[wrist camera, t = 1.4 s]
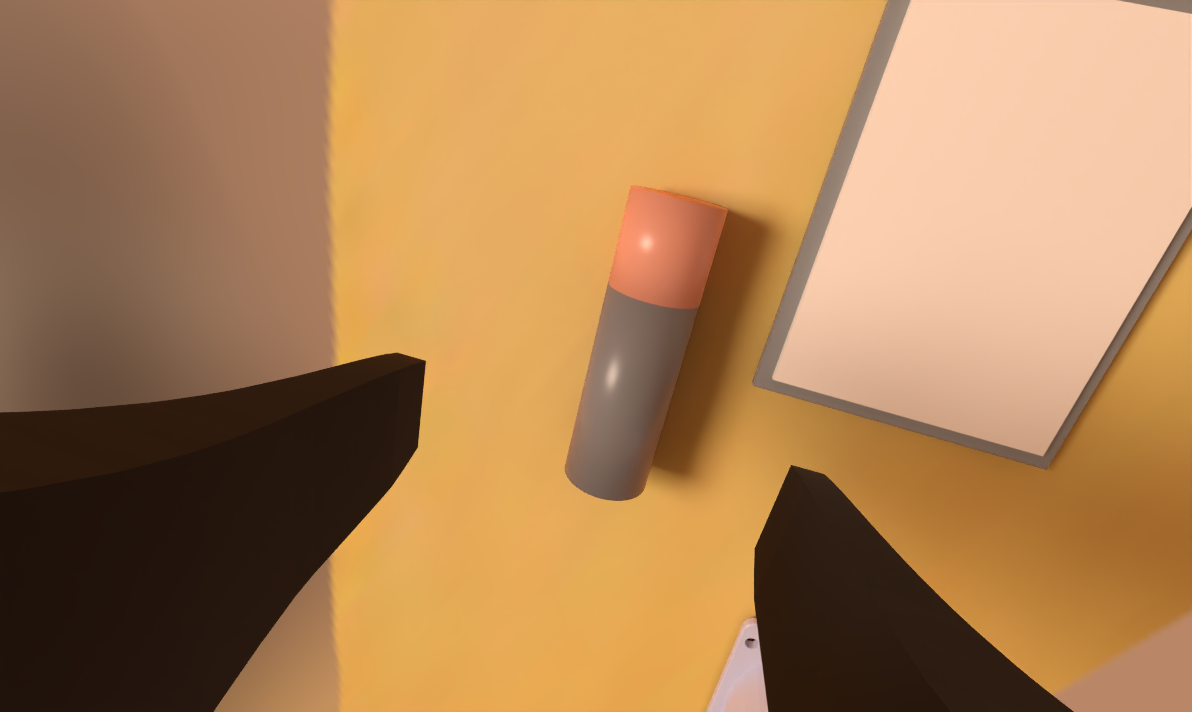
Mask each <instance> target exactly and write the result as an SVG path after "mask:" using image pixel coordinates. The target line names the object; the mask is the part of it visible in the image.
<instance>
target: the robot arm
mask: <svg viewBox="0 0 1192 712" xmlns="http://www.w3.org/2000/svg"><path fill="white" fill-rule="evenodd" d="M425 364H426V361H424V360H421V359H417V358H414V357H410V356H407V355H403V354H400V353H391V354H385V355H380V356H375V357H371V358H366V359H362V360H358V361H354V362H350V363H346V364H343V365H339V366H335V367H331V368H327V369H323V370H319V371H315V372H311V373H307V374H303V375H300V376H295V377H291V378H286V379H282V380H277V381H273V382H268V383H263V384H259V385H254V386H250V387H245V388H241V389H236V390H231V391H225V392H219V393H213V394H208V395H201V396H195V397H188V398H181V399H174V400H167V401H159V402H151V403H141V404H129V405H118V406H107V407H96V408H84V409H72V410H54V411H33V412H7V413H6V412H2V413H0V712H214V710H215V709H216V707H217V706H218V704H219V703H220V701H221V700H222V698H223V697H224V695H225V694H226V693H227V691H228V690H229V688H230V687H231V685H232V684H233V682H234V681H235V680H236V678H237V677H238V675H239V674H240V672H241V671H242V670H243V668H244V667H245V665H246V664H247V662H248V661H249V659H250V658H251V657H252V655H253V654H254V652H255V651H256V649H257V648H258V646H259V645H260V643H261V642H262V641H263V640H264V638H265V637H266V636H267V634H268V633H269V631H270V630H271V629H272V627H273V626H274V625H275V623H276V622H277V621H278V619H279V618H280V616H281V615H282V614H283V612H284V611H285V609H286V608H287V607H288V606H289V604H290V603H291V602H292V600H293V599H294V597H295V596H296V595H297V594H298V592H299V591H300V590H301V589H302V588H303V586H304V585H305V584H306V583H307V582H308V580H309V579H310V578H311V577H312V575H313V574H314V573H315V572H316V571H317V570H318V569H319V568H320V567H321V565H322V564H323V563H324V562H325V561H326V560H327V559H328V558H329V557H330V555H331V554H332V553H333V552H334V551H335V550H336V549H337V548H338V547H339V545H340V544H341V543H342V542H343V541H344V540H345V539H346V538H347V537H348V535H349V534H350V533H351V532H352V531H353V530H354V529H355V528H356V527H357V525H358V524H359V523H360V522H361V521H362V520H363V519H364V518H365V516H366V515H367V514H368V513H369V512H370V511H371V510H372V509H373V507H374V506H375V505H376V504H377V503H378V502H379V501H380V500H381V498H382V497H383V496H384V495H385V494H386V493H387V491H388V490H389V489H390V488H391V487H392V485H393V484H394V482H395V481H396V480H397V478H398V477H399V475H400V474H401V472H402V471H403V469H404V468H405V466H406V465H407V463H408V462H409V460H410V459H411V457H412V455H413V454H414V452H415V451H416V449H417V448H418V438H419V428H420V417H421V407H422V396H423V385H424V375H425ZM754 602H755V611H756V618H749V619H747V620H745V621H744V623H743V624H742V627H741V629H740V631H739V634H738V636H737V639H736V641H735V643H734V646H733V648H732V650H731V653H730V655H729V658H728V660H727V662H726V665H725V667H724V669H723V672H722V674H721V676H720V679H719V681H718V684H717V686H716V688H715V691H714V693H713V695H712V698H711V700H710V703H709V705H708V707H707V710H706V712H1073V711H1072V710H1071V709H1069V708H1068V707H1067V706H1065V705H1064V704H1063V703H1062V702H1060V701H1059V700H1058V699H1057V698H1055V697H1054V696H1053V695H1051V694H1050V693H1049V692H1048V691H1046V690H1045V689H1044V688H1042V687H1041V686H1040V685H1039V684H1038V683H1036V682H1035V681H1034V680H1033V679H1031V678H1030V677H1029V676H1028V675H1027V674H1025V673H1024V672H1023V671H1022V670H1021V669H1019V668H1018V667H1017V666H1016V665H1015V664H1013V663H1012V662H1011V661H1010V660H1009V659H1008V658H1006V657H1005V656H1004V655H1003V654H1002V653H1001V652H1000V651H998V650H997V649H996V648H995V647H994V646H993V645H992V644H991V643H989V642H988V641H987V640H986V639H985V638H984V637H983V636H981V635H980V634H979V633H978V632H977V631H976V630H975V629H973V628H972V627H971V626H970V625H969V624H968V623H967V622H966V621H965V620H964V619H963V618H961V617H960V616H959V615H958V614H957V613H956V612H955V611H954V610H953V609H952V608H951V607H950V606H949V605H948V604H947V603H946V602H945V601H944V600H943V599H942V598H941V597H940V596H939V595H938V594H937V593H936V592H935V591H934V590H933V589H932V588H931V587H930V586H929V585H928V584H927V583H926V582H925V581H924V580H923V579H922V578H921V577H920V576H919V575H918V574H917V573H916V572H915V571H914V570H913V569H912V568H911V567H910V566H909V565H908V564H907V563H906V562H905V561H904V560H903V559H902V558H901V556H900V555H899V554H898V553H897V552H896V551H895V550H894V549H893V548H892V547H891V546H890V545H889V544H888V542H887V541H886V540H885V539H884V538H883V537H882V536H881V535H880V534H879V533H878V531H877V530H876V529H875V528H874V527H873V526H872V525H871V524H870V523H869V521H868V520H867V519H866V518H865V517H864V516H863V515H862V514H861V512H860V511H859V510H858V509H857V508H856V507H855V506H854V505H853V503H852V502H851V501H850V500H849V499H848V498H847V497H846V496H845V495H844V494H843V492H842V491H841V490H840V489H839V488H838V487H837V486H836V485H835V484H834V483H833V482H832V481H831V480H830V479H829V478H828V477H827V476H826V475H824V474H821V473H818V472H814V471H811V470H807V469H804V468H800V467H797V466H793V465H791V467H790V469H789V471H788V474H787V476H786V478H785V480H784V483H783V485H782V487H781V490H780V492H779V494H778V496H777V499H776V501H775V503H774V506H773V508H772V510H771V512H770V515H769V517H768V519H767V522H766V524H765V526H764V528H763V531H762V533H761V535H760V538H759V540H758V542H757V545H756V547H755V561H754ZM749 638H753V639H755V640H754V641H749V640H747V639H749Z"/></svg>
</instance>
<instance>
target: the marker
mask: <svg viewBox="0 0 1192 712" xmlns="http://www.w3.org/2000/svg"><path fill="white" fill-rule="evenodd" d="M727 212H728V209H726V208H724V207H721V206H718V205H715V204H712V203H709V202H705V201H702V200H698V199H694V198H691V197H687V196H683V195H679V194H674V193H670V192H666V191H661V190H656V189H651V188H646V187H640V186H631V187H630V192H629V196H628V200H627V204H626V209H625V213H624V217H623V221H622V226H621V230H620V234H619V238H618V243H617V247H616V251H615V255H614V260H613V264H612V268H611V272H610V277H609V281H608V285H607V289H606V294H605V298H604V302H603V306H602V311H601V315H600V319H599V324H598V328H597V332H596V336H595V341H594V345H593V349H592V353H591V358H590V362H589V366H588V370H587V375H586V379H585V383H584V387H583V392H582V396H581V400H580V404H579V409H578V413H577V417H576V421H575V426H574V430H573V434H572V438H571V443H570V447H569V451H568V455H567V460H566V464H565V473H566V475H567V477H568V479H569V480H570V481H571V482H572V483H573V484H574V485H575V486H576V487H577V488H579V489H580V490H582V491H583V492H585V493H587V494H589V495H592V496H594V497H598V498H601V499H605V500H613V501H623V500H629V499H633V498H635V497H637V496H639V495H640V494H641V493H642V492H643V490H644V488H645V485H646V482H647V478H648V475H649V472H650V468H651V465H652V462H653V458H654V455H655V452H656V448H657V445H658V442H659V438H660V435H661V432H662V428H663V425H664V422H665V418H666V415H667V412H668V409H669V405H670V402H671V399H672V395H673V392H674V389H675V385H676V382H677V379H678V375H679V372H680V369H681V365H682V362H683V359H684V355H685V352H686V349H687V345H688V342H689V339H690V335H691V332H692V329H693V325H694V322H695V319H696V315H697V312H698V309H699V305H700V302H701V299H702V295H703V292H704V289H705V285H706V282H707V279H708V276H709V272H710V269H711V266H712V262H713V259H714V256H715V252H716V249H717V246H718V242H719V239H720V236H721V232H722V229H723V226H724V222H725V219H726V216H727Z"/></svg>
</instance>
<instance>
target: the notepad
mask: <svg viewBox="0 0 1192 712" xmlns="http://www.w3.org/2000/svg"><path fill="white" fill-rule="evenodd" d="M1191 230H1192V0H888V1H887V4H886V7H885V10H884V13H883V15H882V18H881V21H880V24H879V27H878V29H877V32H876V35H875V38H874V41H873V44H872V46H871V49H870V52H869V55H868V58H867V60H866V63H865V66H864V69H863V72H862V75H861V77H860V80H859V83H858V86H857V89H856V91H855V94H854V97H853V100H852V103H851V106H850V108H849V111H848V114H847V117H846V120H845V122H844V125H843V128H842V131H841V134H840V136H839V139H838V142H837V145H836V148H835V151H834V153H833V156H832V159H831V162H830V165H829V167H828V170H827V173H826V176H825V179H824V182H823V184H822V187H821V190H820V193H819V196H818V198H817V201H816V204H815V207H814V210H813V213H812V215H811V218H810V221H809V224H808V227H807V229H806V232H805V235H804V238H803V241H802V243H801V246H800V249H799V252H798V255H797V258H796V260H795V263H794V266H793V269H792V272H791V274H790V277H789V280H788V283H787V286H786V289H785V291H784V294H783V297H782V300H781V303H780V305H779V308H778V311H777V314H776V317H775V320H774V322H773V325H772V328H771V331H770V334H769V336H768V339H767V342H766V345H765V348H764V350H763V353H762V356H761V359H760V362H759V365H758V367H757V370H756V373H755V376H754V379H753V381H752V382H753V386H756V387H760V388H763V389H766V390H770V391H773V392H777V393H780V394H784V395H787V396H791V397H794V398H798V399H801V400H805V401H808V402H812V403H815V404H819V405H822V406H826V407H829V408H833V409H836V410H840V411H843V412H847V413H850V414H854V415H857V416H861V417H864V418H868V419H871V420H875V421H878V422H882V423H885V424H889V425H892V426H896V427H899V428H903V429H906V430H910V431H913V432H917V433H920V434H924V435H927V436H931V437H934V438H938V439H941V440H945V441H948V442H952V443H955V444H959V445H962V446H966V447H969V448H973V449H976V450H979V451H983V452H986V453H990V454H993V455H997V456H1000V457H1004V458H1007V459H1011V460H1014V461H1018V462H1021V463H1025V464H1028V465H1032V466H1035V467H1039V468H1042V469H1046V470H1047V468H1048V466H1049V465H1050V463H1051V461H1052V460H1053V458H1054V457H1055V455H1056V453H1057V452H1058V450H1059V448H1060V447H1061V445H1062V443H1063V442H1064V440H1065V438H1066V437H1067V435H1068V433H1069V432H1070V430H1071V428H1072V427H1073V425H1074V423H1075V422H1076V420H1077V418H1078V417H1079V415H1080V413H1081V412H1082V410H1083V409H1084V407H1085V405H1086V404H1087V402H1088V400H1089V399H1090V397H1091V395H1092V394H1093V392H1094V390H1095V389H1096V387H1097V385H1098V384H1099V382H1100V380H1101V379H1102V377H1103V375H1104V374H1105V372H1106V370H1107V369H1108V367H1109V366H1110V364H1111V362H1112V361H1113V359H1114V357H1115V356H1116V354H1117V352H1118V351H1119V349H1120V347H1121V346H1122V344H1123V342H1124V341H1125V339H1126V337H1127V336H1128V334H1129V332H1130V331H1131V329H1132V327H1133V326H1134V324H1135V322H1136V321H1137V319H1138V318H1139V316H1140V314H1141V313H1142V311H1143V309H1144V308H1145V306H1146V304H1147V303H1148V301H1149V299H1150V298H1151V296H1152V294H1153V293H1154V291H1155V289H1156V288H1157V286H1158V284H1159V283H1160V281H1161V279H1162V278H1163V276H1164V274H1165V273H1166V271H1167V270H1168V268H1169V266H1170V265H1171V263H1172V261H1173V260H1174V258H1175V256H1176V255H1177V253H1178V251H1179V250H1180V248H1181V246H1182V245H1183V243H1184V241H1185V240H1186V238H1187V236H1188V235H1189V233H1190V231H1191Z"/></svg>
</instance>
